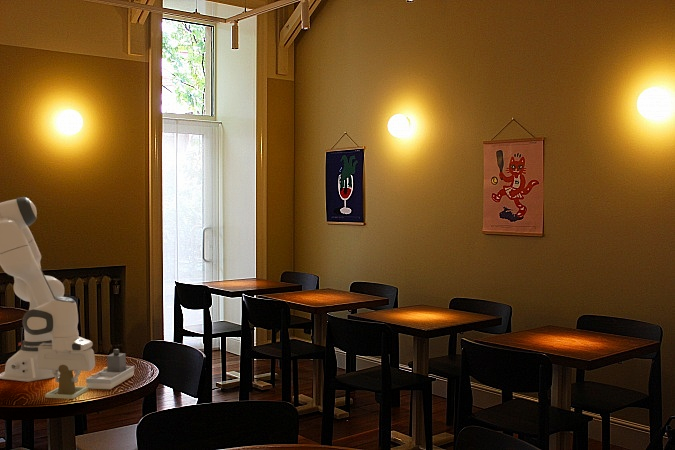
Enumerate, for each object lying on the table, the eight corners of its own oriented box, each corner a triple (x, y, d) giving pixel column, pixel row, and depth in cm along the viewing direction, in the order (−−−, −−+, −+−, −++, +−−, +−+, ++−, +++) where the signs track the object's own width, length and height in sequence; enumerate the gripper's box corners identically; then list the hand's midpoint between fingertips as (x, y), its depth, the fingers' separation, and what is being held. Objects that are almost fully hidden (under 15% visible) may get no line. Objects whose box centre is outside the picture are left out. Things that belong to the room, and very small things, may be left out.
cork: (62, 391, 255) (61, 360, 255) (78, 391, 255) (77, 360, 255) (54, 396, 249) (53, 365, 249) (72, 396, 249) (71, 365, 249)
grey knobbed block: (107, 374, 270) (106, 350, 270) (113, 371, 275) (113, 347, 275) (120, 374, 269) (119, 351, 269) (126, 371, 274) (125, 348, 274)
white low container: (85, 388, 259) (84, 377, 259) (110, 374, 278) (109, 364, 278) (111, 389, 258) (110, 378, 257) (134, 375, 276) (134, 365, 276)
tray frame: (45, 397, 248) (45, 394, 248) (61, 389, 258) (61, 385, 258) (72, 398, 247) (72, 395, 246) (87, 390, 257) (87, 387, 257)
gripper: (32, 344, 250) (34, 383, 251) (87, 346, 247) (88, 385, 247) (43, 340, 256) (44, 378, 257) (96, 342, 253) (97, 380, 254)
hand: (66, 382), depth 252 cm, fingers closed on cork, 5 cm apart
